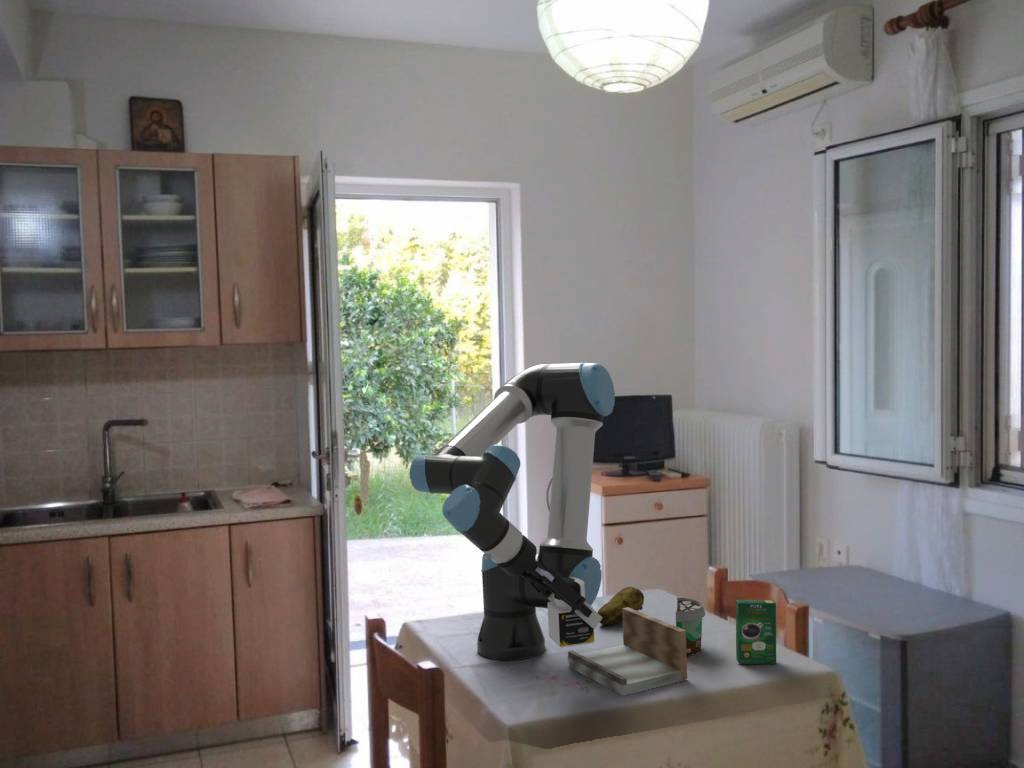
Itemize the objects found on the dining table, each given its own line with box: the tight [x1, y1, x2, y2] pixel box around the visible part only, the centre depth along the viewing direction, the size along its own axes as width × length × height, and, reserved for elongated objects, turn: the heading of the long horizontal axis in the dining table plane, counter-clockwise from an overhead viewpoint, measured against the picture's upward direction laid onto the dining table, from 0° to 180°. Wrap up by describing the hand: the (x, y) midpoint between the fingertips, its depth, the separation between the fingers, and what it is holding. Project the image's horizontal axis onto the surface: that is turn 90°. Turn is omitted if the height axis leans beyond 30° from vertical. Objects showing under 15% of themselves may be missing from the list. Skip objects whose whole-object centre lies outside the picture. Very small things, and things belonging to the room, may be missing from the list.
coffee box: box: [735, 599, 777, 665], centre depth 195 cm, size 8×3×13 cm, turn 86°
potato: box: [596, 586, 645, 626], centre depth 227 cm, size 8×13×8 cm, turn 105°
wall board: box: [567, 607, 688, 697], centre depth 192 cm, size 20×16×10 cm
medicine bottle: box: [547, 577, 595, 649], centre depth 183 cm, size 7×7×12 cm
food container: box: [675, 596, 706, 656], centre depth 205 cm, size 12×6×10 cm, turn 168°
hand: (585, 617), depth 185 cm, fingers closed on medicine bottle, 8 cm apart
